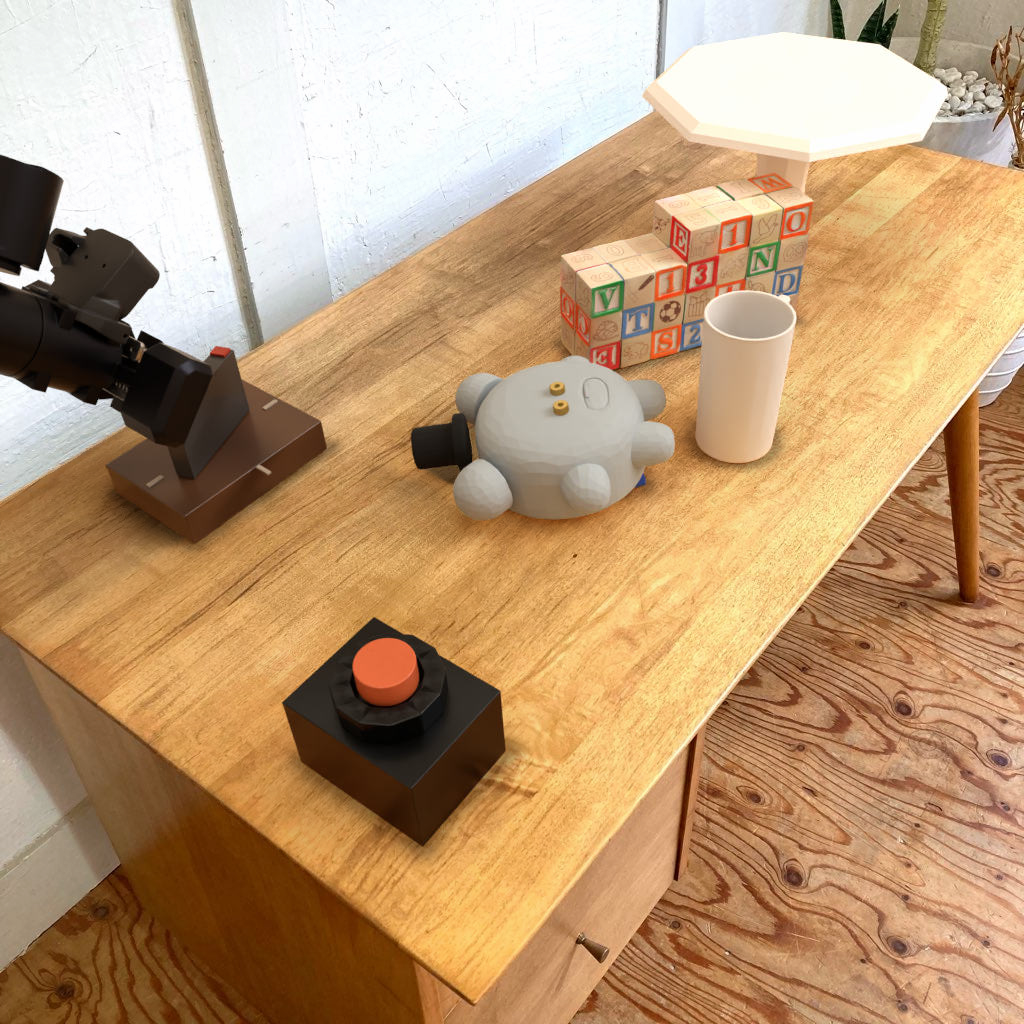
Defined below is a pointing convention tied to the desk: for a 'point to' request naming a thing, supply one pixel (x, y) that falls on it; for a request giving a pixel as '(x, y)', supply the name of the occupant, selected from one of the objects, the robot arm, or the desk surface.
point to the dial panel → (221, 468)
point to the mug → (742, 373)
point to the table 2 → (796, 99)
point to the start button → (386, 672)
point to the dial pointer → (213, 415)
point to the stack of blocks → (683, 269)
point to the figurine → (548, 440)
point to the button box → (399, 735)
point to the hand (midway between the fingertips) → (189, 386)
